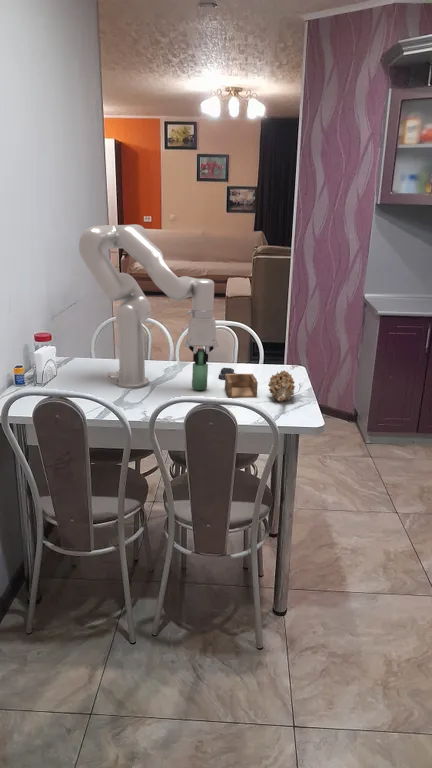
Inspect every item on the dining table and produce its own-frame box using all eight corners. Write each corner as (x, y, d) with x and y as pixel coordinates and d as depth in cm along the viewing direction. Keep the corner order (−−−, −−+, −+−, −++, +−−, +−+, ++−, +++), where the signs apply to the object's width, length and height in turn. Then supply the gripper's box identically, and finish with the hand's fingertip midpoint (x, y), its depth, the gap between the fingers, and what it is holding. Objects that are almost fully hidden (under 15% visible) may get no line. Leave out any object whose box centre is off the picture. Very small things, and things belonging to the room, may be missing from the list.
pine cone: (266, 391, 205) (267, 366, 202) (292, 392, 205) (294, 367, 202) (269, 413, 184) (271, 385, 181) (298, 414, 184) (300, 386, 181)
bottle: (192, 389, 203) (193, 351, 198) (191, 384, 208) (192, 347, 203) (207, 390, 203) (209, 351, 199) (206, 385, 209) (208, 347, 204)
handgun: (259, 375, 227) (255, 384, 216) (221, 372, 230) (216, 380, 219) (259, 370, 226) (256, 378, 215) (221, 366, 229) (216, 375, 218)
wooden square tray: (228, 397, 198) (228, 382, 196) (224, 388, 208) (225, 373, 206) (256, 397, 199) (257, 382, 197) (252, 388, 209) (252, 373, 207)
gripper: (180, 315, 192) (178, 366, 198) (226, 316, 194) (223, 366, 200) (179, 311, 199) (178, 360, 205) (223, 312, 201) (221, 360, 207)
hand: (200, 362), depth 203 cm, fingers closed on bottle, 2 cm apart
